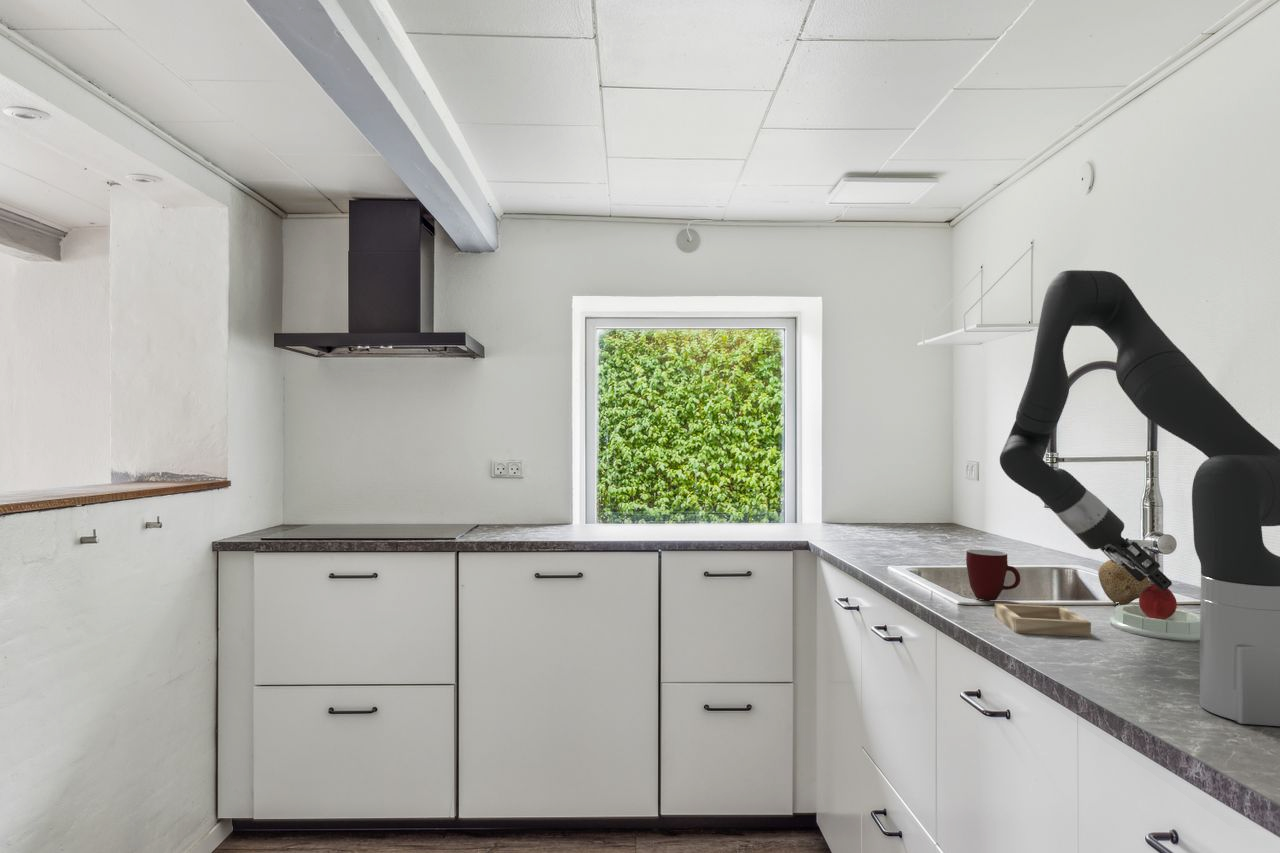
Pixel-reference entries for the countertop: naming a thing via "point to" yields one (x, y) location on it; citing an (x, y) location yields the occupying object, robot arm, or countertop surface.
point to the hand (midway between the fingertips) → (1155, 582)
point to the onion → (1157, 602)
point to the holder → (1042, 620)
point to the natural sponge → (1120, 583)
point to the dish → (1157, 624)
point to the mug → (989, 573)
